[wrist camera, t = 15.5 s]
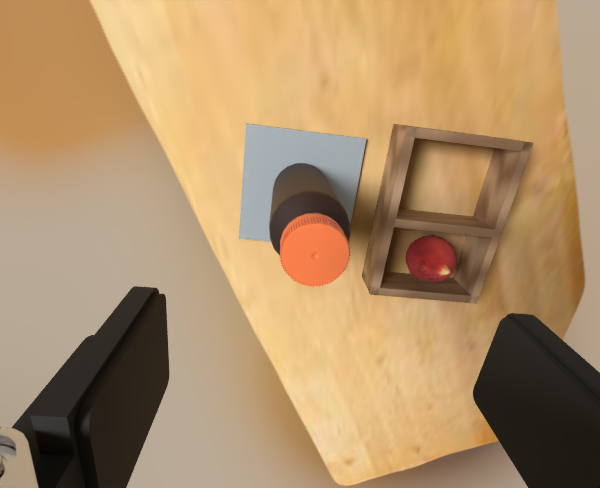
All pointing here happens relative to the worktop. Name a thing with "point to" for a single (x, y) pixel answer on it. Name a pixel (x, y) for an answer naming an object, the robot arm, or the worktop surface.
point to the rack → (443, 217)
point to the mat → (287, 151)
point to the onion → (431, 259)
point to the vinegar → (308, 226)
